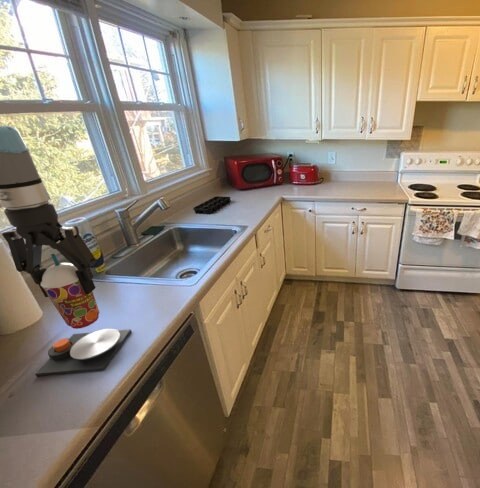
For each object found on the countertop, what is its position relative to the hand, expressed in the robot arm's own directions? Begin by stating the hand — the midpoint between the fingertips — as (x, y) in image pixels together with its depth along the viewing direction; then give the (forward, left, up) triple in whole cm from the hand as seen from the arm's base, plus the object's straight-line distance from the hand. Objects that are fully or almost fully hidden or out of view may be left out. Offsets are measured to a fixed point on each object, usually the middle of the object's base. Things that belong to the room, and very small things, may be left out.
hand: (71, 292), depth 69 cm
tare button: (-9, 0, -18) cm, 19 cm away
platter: (0, 0, -17) cm, 17 cm away
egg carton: (0, +129, -20) cm, 131 cm away
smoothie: (0, 0, -10) cm, 10 cm away
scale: (-3, 0, -20) cm, 20 cm away
